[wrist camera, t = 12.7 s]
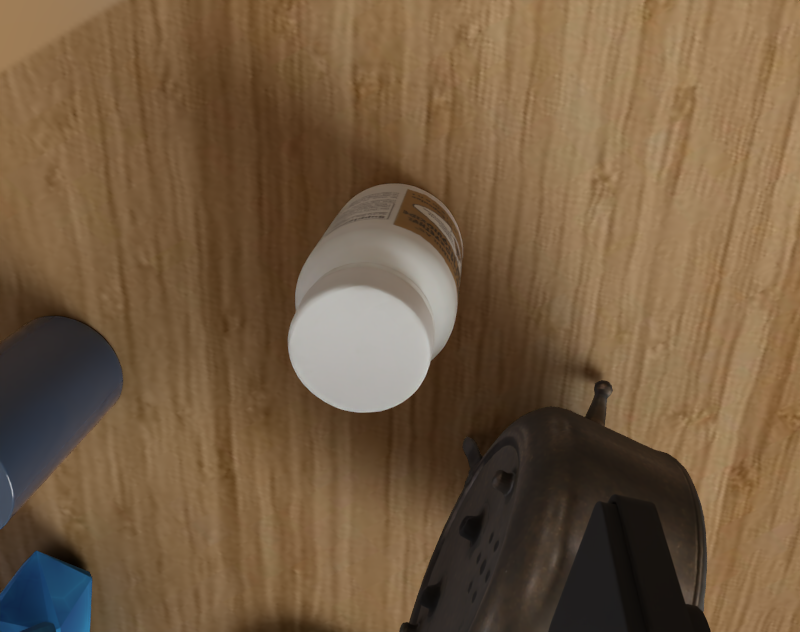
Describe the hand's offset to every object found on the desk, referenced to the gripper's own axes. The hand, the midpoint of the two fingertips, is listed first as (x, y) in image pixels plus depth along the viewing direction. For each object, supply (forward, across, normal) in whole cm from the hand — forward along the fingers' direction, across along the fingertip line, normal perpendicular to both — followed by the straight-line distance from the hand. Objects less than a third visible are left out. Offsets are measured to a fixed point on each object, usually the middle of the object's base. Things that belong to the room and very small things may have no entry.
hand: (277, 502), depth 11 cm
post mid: (+14, +11, +8) cm, 20 cm away
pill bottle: (+14, 0, +1) cm, 14 cm away
